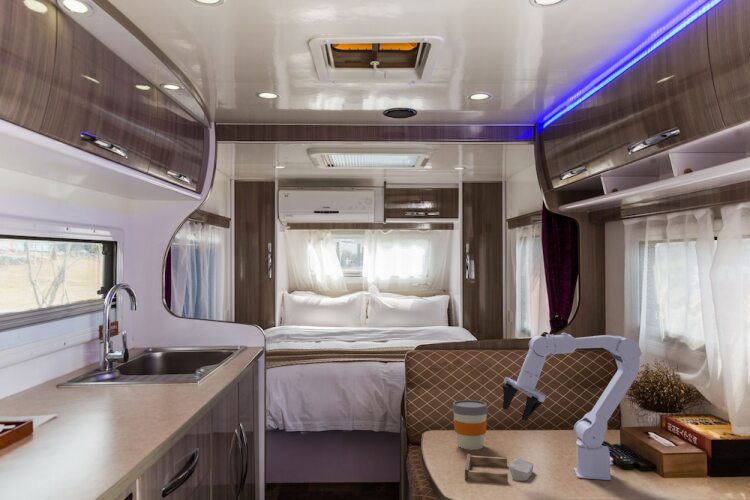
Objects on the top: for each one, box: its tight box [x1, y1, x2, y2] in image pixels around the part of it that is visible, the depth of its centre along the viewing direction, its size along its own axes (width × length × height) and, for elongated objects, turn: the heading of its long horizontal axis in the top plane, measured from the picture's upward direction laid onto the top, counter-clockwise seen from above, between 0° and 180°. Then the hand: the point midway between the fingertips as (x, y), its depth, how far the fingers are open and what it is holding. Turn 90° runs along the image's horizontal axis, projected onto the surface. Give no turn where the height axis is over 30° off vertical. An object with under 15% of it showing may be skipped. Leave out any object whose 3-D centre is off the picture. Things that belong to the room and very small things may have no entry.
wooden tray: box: [464, 453, 509, 484], centre depth 171 cm, size 12×15×3 cm
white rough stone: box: [509, 457, 534, 482], centre depth 169 cm, size 10×6×6 cm, turn 148°
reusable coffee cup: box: [452, 399, 489, 451], centre depth 199 cm, size 12×13×15 cm
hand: (514, 414), depth 171 cm, fingers open, 7 cm apart
